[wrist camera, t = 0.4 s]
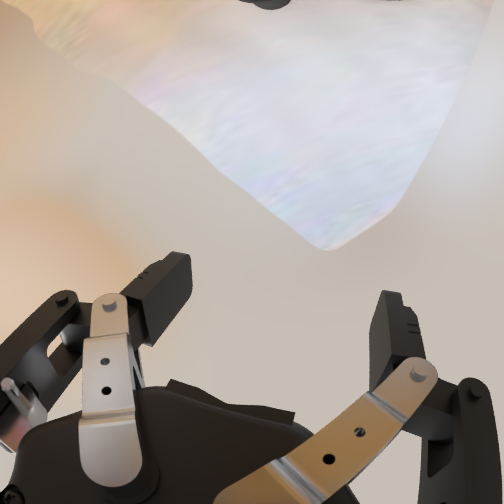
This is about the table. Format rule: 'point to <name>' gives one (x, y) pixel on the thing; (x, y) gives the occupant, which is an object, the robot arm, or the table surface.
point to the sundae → (268, 3)
